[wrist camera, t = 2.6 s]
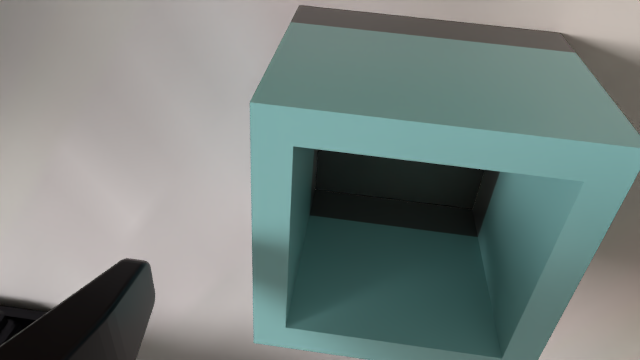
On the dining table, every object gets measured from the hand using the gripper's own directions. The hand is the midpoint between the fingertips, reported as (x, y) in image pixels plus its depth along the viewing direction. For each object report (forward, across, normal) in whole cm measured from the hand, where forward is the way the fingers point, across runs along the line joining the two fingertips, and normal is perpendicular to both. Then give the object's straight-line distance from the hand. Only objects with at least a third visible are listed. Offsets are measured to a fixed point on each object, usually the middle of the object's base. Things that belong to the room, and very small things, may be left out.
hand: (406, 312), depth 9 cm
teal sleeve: (+6, 0, 0) cm, 6 cm away
